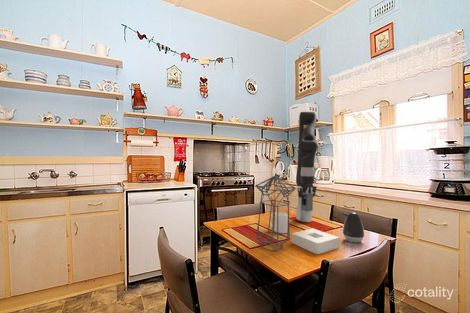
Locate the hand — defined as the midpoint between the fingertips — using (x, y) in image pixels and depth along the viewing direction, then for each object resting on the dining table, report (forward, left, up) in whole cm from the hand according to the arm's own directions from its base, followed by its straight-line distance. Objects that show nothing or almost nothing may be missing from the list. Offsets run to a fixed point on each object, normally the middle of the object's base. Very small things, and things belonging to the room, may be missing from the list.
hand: (306, 204), depth 133 cm
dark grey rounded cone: (+20, +13, -17) cm, 29 cm away
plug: (0, 0, -3) cm, 3 cm away
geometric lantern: (+6, -30, -17) cm, 35 cm away
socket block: (+14, -10, -17) cm, 24 cm away
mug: (-12, -11, -17) cm, 24 cm away
